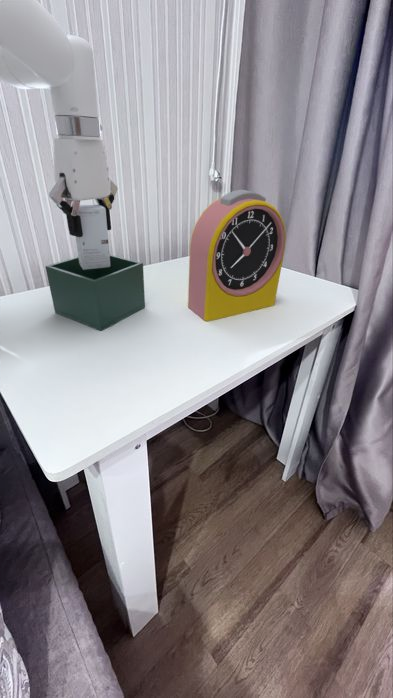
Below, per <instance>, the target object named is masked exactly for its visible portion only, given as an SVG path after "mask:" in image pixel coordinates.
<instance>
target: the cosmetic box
mask: <svg viewBox="0 0 393 698" xmlns="http://www.w3.org/2000/svg"><path fill="white" fill-rule="evenodd" d="M71 207H72V205H71ZM77 215H79V216H80V217H81V224H82V232H83V236H82V237H76V236H75V243H76V250H77V257H78V258H79V264H80V266H81V267H82V269H83V270H86V269H96V268H106V267H110V255H111V253H110V245H109V233H108V230H107V219H106V209H105V208H104V207H103V206H101V205H98V204H79V209H78V213H77Z"/></svg>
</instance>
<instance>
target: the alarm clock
mask: <svg viewBox="0 0 393 698" xmlns="http://www.w3.org/2000/svg"><path fill="white" fill-rule="evenodd" d="M266 200H267V199H266V197H265V196H264V195H262V194H260V193H258V192H254V191H251V190H246V189H236V190H232V191H230V192H228V193H226V194H224V195H222V196H221V197H220V198H218V199H216V200H214V201H213V202H211V203H210V204H209V205H208V206H207V207H206V208H205V209H204V210H203V211H202V212H201V214H200V216H199V217H198V219H197V221H196V222H195V224H194V227H193V229H192V233H191V236H190V244H189V259H188V260H189V261H188V262H189V263H188V293H187V294H188V295H187V297H188V298H187V308H188V309H189V310H190V311H191V312H193V313H194V314H196V316H198V317H199V318H200V319H202V320H203V321H205V322H211V321H215V320H220V319H224V318H229V317H232V316H233V317H234V316H237V315H241V314H244V313H248V312H253V311H258V310H261V309H262V310H263V309H265V308H270V307H273V306H275V303H276V298H277V293H278V288H279V283H280V276H281V271H282V266H283V261H284V255H285V250H286V239H287V234H286V226H285V222H284V220H283V217H282V215H281V213H280V212H279V211H278V210H277V208H276V207H275V206H274V205H272V204H270V203H269V202H267V201H266Z"/></svg>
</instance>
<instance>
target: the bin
mask: <svg viewBox="0 0 393 698" xmlns="http://www.w3.org/2000/svg"><path fill="white" fill-rule="evenodd" d="M45 271H46V277H47V282H48V286H49V290H50V295H51V299H52V300H51V301H52V305H53V309H54V313H55V314H57V315H59V316H62V317H64V318H66V319H70V320H72V321H74V322H77V323H80V324H81V325H84V326H87V327H89V328H92V329H94V330H96V331H100V332H102V331H104V330H106V329H107V328H110V327H112V326H113V325H115V324H117V323H119V322H121V321H123V320H125V319H127V318H128V317H130V316H132V315H134V314H135V313H137V312H139V311H142V310H143V309H145V308H146V299H145V296H146V295H145V276H144V262H141V261H137V260H136V261H135V260H133V259H129V258H124V257H121V256H117V255H113V254H110V267H106V268H96V269H86V270H83V269H82V267H81V266H80V264H79V258H78V256H76V257H72V258H67V259H65V260H61V261H58V262H55V263H52V264H49V265H45Z"/></svg>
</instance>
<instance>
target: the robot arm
mask: <svg viewBox="0 0 393 698" xmlns="http://www.w3.org/2000/svg"><path fill="white" fill-rule="evenodd" d="M95 71H96V70H95V60H94V52H93V49H92V46H91V44H90V43H89V41H88V40H87V39H85V38H83V37H81V36H78V35H74V34H68V33H66V32H65V30H64V29H63V27H62V26H61V24H60V23H59V22H58V21H57V19H56V18H55V17H54V16H53V15H52V14H51V13H50V12H49V10H47V9H46V7H45V6H44V5H42V4H41V3H40V2H39V1H38V0H0V79H1V80H2V81H3V82H4V83H6V84H8V85H9V86H11V87H14V88H17V89H20V90H33V89H34V90H35V89H36V90H37V89H39V90H40V89H42V90H44V89H45V90H46V89H47V90H48V91H49V92H50V97H51V103H52V104H51V105H52V110H53V115H54V123H55V130H56V136H57V137H54V138H53V145H52V161H53V172H54V173H53V174H54V181H55V184H54V185H53V186H52V189H51V190H50V191H49V193H48V196H49V198H50V199H51V200H52V202H54V203H55V204H56V206H57V207H58V209H60V211H62V214H63V215H65V216H66V221H67V228H68V232H69V235H70V236H73V237H75V238H76V237H82V236H83V232H82V224H81V217H80V216H79V215H77V213H78V209H79V205H81V201H88V200H89V201H90V200H95V202H96V205H101V206H103V207H104V208H105V209H106V219H107V231H112V222H111V210H112V208H113V203H114V202H115V197H116V195H117V192H118V189H119V188H118V186H117V185H116V184H115V183H114V182H113V181H112V179H111V175H110V169H109V168H110V167H109V162H108V157H107V152H106V147H105V144H104V140H103V139H102V136H101V135H102V131H103V126H102V125H101V124H100V123H101V122H100V113H99V103H98V93H97V92H98V91H97V83H96V72H95ZM71 206H72V207H71Z"/></svg>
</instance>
